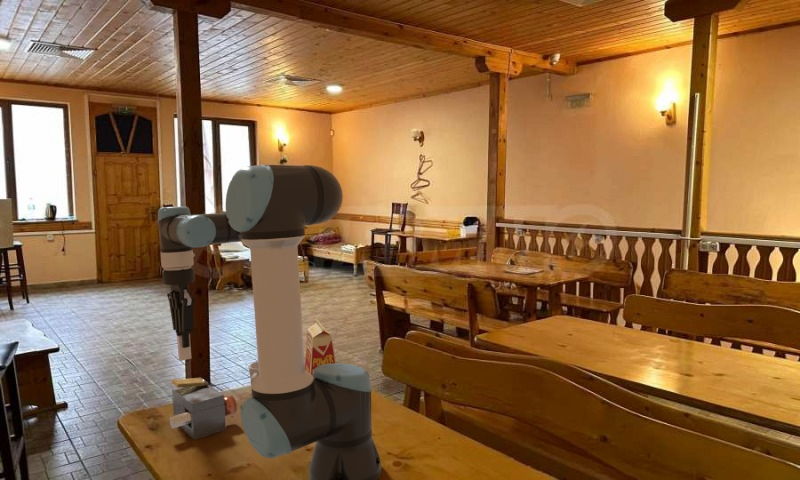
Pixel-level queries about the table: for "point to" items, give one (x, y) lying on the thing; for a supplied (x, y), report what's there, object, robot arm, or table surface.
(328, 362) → the milk carton
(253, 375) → the cup
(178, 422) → the pin
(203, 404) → the block
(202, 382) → the tan rectangular plate
